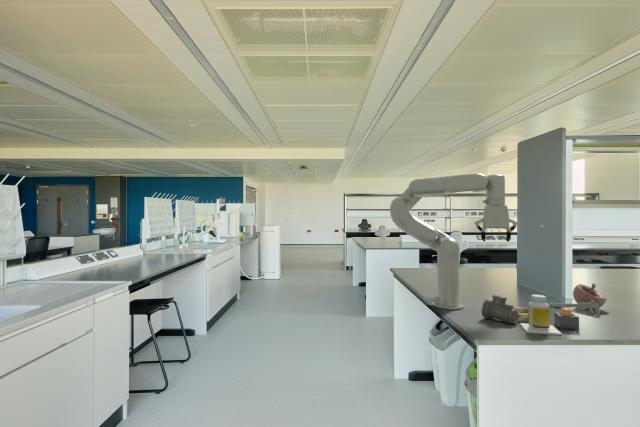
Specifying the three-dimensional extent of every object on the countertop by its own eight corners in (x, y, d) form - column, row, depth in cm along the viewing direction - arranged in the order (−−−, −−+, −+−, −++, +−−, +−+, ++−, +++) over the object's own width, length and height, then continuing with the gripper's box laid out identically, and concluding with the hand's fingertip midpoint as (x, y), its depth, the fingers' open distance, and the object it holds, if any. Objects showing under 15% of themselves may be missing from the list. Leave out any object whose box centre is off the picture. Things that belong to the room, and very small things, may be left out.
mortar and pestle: (602, 313, 154) (602, 286, 154) (569, 308, 163) (569, 282, 163) (609, 309, 162) (609, 283, 162) (577, 304, 171) (577, 279, 171)
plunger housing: (559, 329, 132) (559, 315, 132) (554, 325, 138) (554, 311, 138) (579, 331, 131) (579, 317, 131) (572, 326, 136) (572, 312, 136)
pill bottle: (552, 331, 129) (552, 298, 129) (532, 330, 130) (532, 297, 130) (544, 325, 135) (544, 294, 135) (525, 324, 136) (525, 293, 136)
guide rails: (518, 321, 143) (518, 313, 143) (512, 314, 153) (512, 307, 153) (547, 323, 140) (547, 315, 140) (538, 316, 151) (538, 308, 151)
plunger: (563, 323, 133) (563, 309, 133) (560, 321, 136) (560, 307, 136) (572, 324, 132) (572, 310, 132) (569, 321, 135) (569, 308, 135)
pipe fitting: (478, 318, 146) (482, 293, 146) (489, 316, 151) (493, 292, 150) (508, 329, 136) (512, 302, 136) (519, 326, 141) (523, 300, 141)
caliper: (599, 316, 151) (599, 300, 151) (598, 316, 151) (598, 301, 151) (547, 305, 169) (547, 292, 169) (546, 306, 168) (545, 292, 168)
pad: (526, 332, 129) (526, 330, 129) (519, 324, 139) (519, 322, 139) (562, 335, 126) (562, 333, 126) (552, 326, 136) (552, 325, 136)
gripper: (475, 202, 160) (475, 241, 160) (519, 202, 155) (519, 242, 155) (473, 203, 168) (473, 240, 167) (515, 202, 163) (515, 241, 162)
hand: (495, 241), depth 161 cm, fingers open, 9 cm apart
